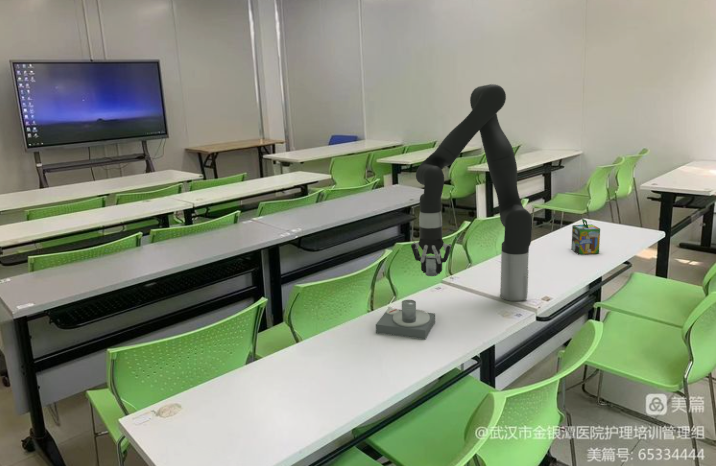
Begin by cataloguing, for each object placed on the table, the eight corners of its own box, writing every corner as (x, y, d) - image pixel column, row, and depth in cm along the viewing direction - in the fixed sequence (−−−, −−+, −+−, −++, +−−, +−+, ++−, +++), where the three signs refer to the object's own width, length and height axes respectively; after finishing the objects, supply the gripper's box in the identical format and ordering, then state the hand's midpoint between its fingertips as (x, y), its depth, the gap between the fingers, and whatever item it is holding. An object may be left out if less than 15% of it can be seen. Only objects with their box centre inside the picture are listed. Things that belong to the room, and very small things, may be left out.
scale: (435, 321, 173) (435, 310, 172) (425, 339, 161) (425, 327, 160) (388, 316, 179) (388, 305, 178) (376, 333, 167) (375, 321, 166)
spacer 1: (417, 318, 167) (417, 300, 165) (414, 323, 163) (413, 305, 162) (404, 316, 169) (403, 298, 167) (400, 322, 165) (399, 304, 163)
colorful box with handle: (599, 254, 233) (601, 221, 229) (578, 255, 233) (580, 222, 229) (590, 248, 242) (592, 216, 238) (570, 248, 242) (572, 217, 238)
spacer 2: (438, 272, 183) (438, 255, 182) (438, 276, 179) (437, 259, 177) (425, 272, 184) (425, 255, 182) (424, 276, 180) (424, 259, 178)
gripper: (454, 222, 178) (454, 270, 182) (412, 220, 183) (414, 267, 187) (449, 228, 171) (450, 278, 175) (407, 226, 176) (408, 274, 180)
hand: (431, 272), depth 181 cm, fingers closed on spacer 2, 4 cm apart
